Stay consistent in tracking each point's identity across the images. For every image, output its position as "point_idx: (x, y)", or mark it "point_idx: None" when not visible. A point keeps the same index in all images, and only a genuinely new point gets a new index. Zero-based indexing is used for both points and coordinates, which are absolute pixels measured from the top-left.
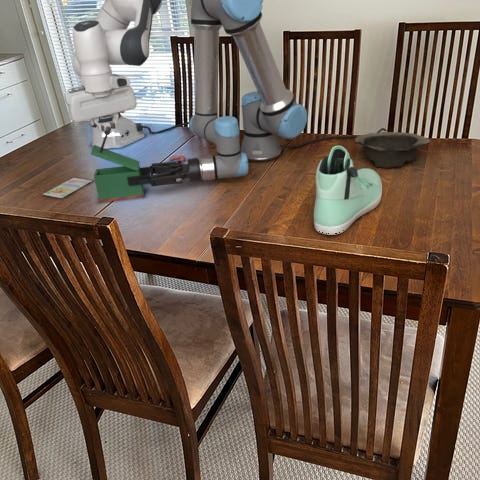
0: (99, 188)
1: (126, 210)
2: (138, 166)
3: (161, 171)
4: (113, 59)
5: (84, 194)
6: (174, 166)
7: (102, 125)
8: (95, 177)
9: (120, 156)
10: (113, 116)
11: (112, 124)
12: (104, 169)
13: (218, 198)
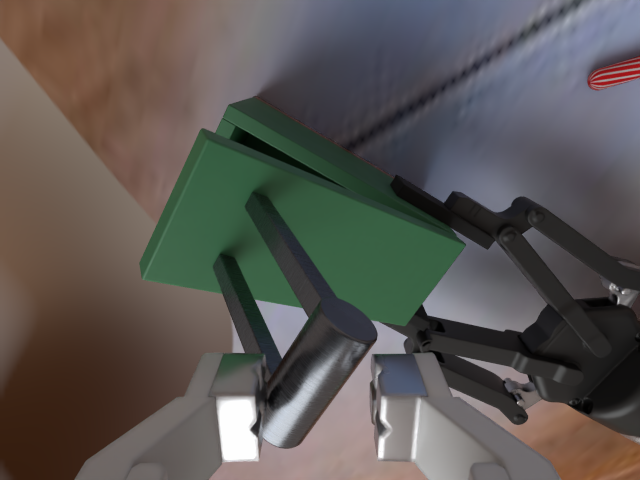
0: None
1: (278, 304)
2: (417, 307)
3: (522, 272)
4: None
5: (187, 20)
6: (576, 333)
7: (245, 446)
8: None
9: (367, 244)
10: (484, 459)
11: (380, 450)
12: (271, 145)
13: (551, 433)
